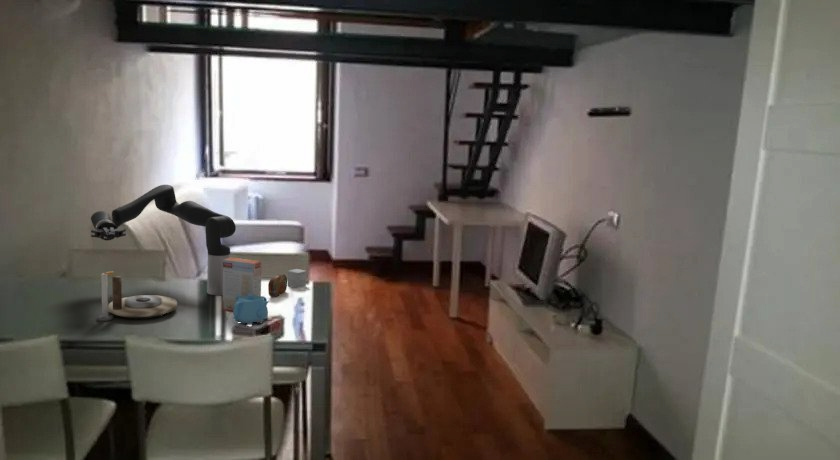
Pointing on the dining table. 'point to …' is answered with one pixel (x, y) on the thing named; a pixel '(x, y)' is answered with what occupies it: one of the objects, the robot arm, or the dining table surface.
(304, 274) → the grey rounded block
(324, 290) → the dining table surface
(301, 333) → the dining table surface
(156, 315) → the turntable base
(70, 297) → the dining table surface
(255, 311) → the teapot
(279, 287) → the brown rounded slab
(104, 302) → the post
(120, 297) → the turntable
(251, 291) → the cracker box
